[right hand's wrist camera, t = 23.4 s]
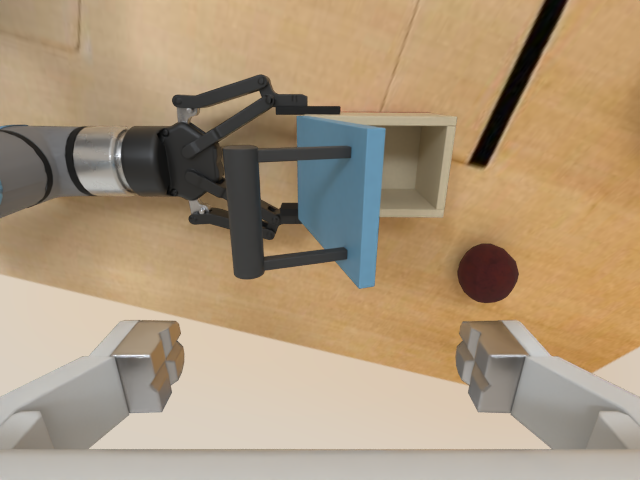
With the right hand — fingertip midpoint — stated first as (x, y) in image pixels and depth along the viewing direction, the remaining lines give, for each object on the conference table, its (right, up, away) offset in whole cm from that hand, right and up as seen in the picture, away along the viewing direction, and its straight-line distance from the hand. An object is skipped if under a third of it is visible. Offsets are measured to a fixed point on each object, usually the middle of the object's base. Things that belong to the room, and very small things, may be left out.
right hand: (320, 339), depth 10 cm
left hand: (+2, +11, +29) cm, 31 cm away
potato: (+22, 0, +40) cm, 46 cm away
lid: (+1, +7, +18) cm, 20 cm away
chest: (+6, +14, +35) cm, 38 cm away
